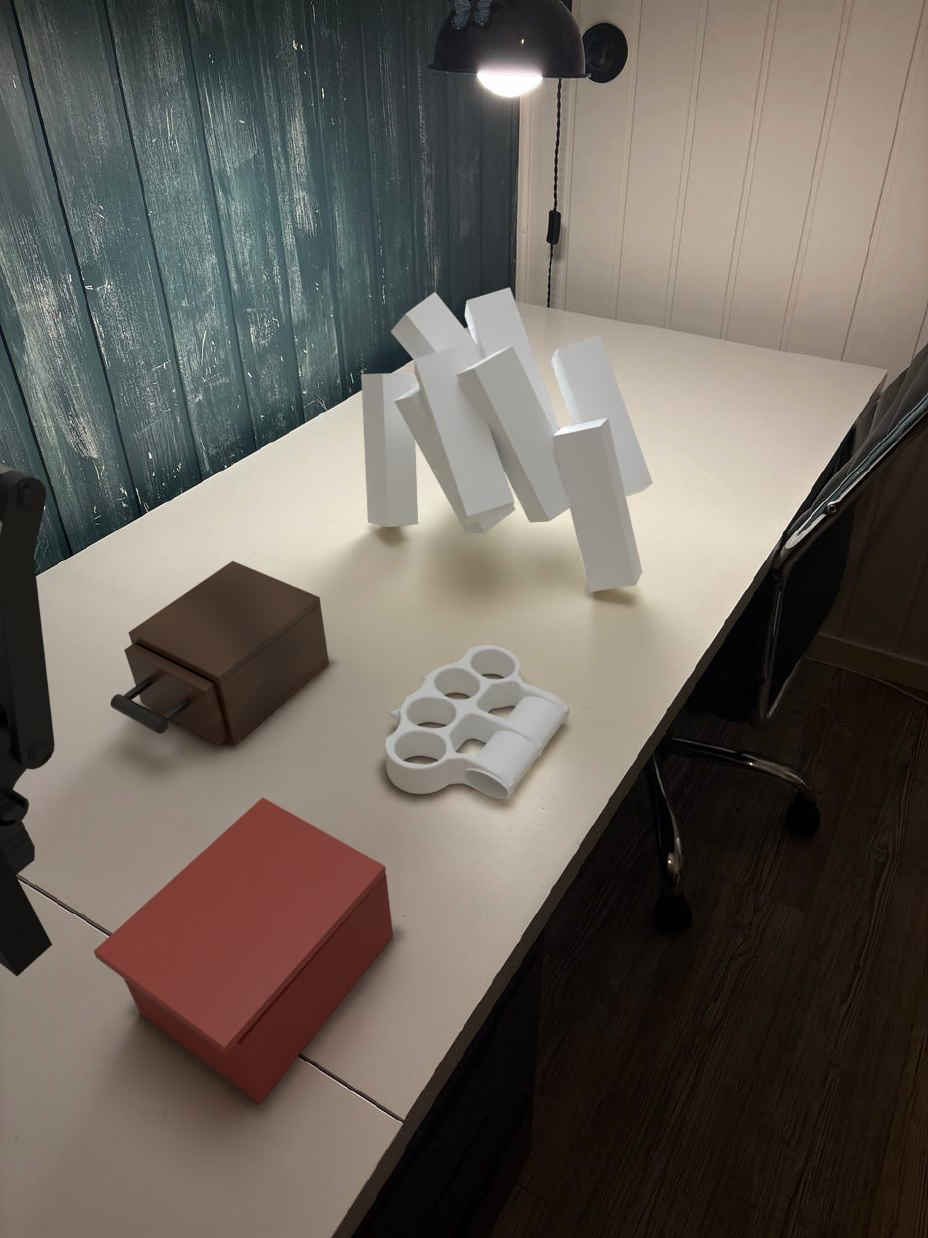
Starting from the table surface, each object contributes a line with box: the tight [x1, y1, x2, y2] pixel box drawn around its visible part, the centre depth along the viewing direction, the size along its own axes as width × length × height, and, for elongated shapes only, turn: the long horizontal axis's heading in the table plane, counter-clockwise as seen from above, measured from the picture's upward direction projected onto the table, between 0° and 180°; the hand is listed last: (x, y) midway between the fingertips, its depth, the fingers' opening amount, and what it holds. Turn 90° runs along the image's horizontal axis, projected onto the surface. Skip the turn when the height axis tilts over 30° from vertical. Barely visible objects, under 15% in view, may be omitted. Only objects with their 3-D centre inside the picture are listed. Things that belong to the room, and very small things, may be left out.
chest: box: [123, 872, 394, 1104], centre depth 65 cm, size 15×12×8 cm
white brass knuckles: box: [384, 644, 571, 800], centre depth 85 cm, size 3×18×15 cm
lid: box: [93, 797, 387, 1054], centre depth 61 cm, size 16×12×1 cm
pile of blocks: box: [360, 287, 654, 593], centre depth 107 cm, size 35×30×35 cm
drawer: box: [109, 643, 228, 746], centre depth 87 cm, size 17×10×7 cm, turn 147°
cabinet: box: [128, 560, 330, 746], centre depth 89 cm, size 14×12×9 cm
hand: (11, 941), depth 33 cm, fingers closed
